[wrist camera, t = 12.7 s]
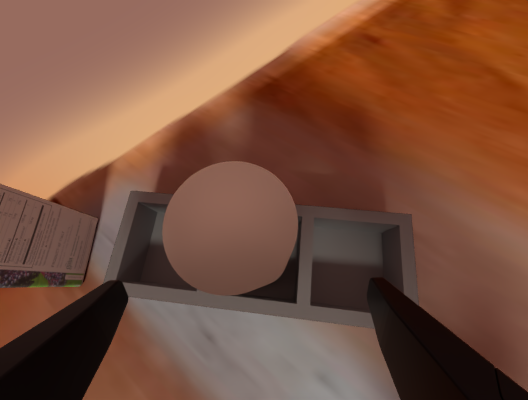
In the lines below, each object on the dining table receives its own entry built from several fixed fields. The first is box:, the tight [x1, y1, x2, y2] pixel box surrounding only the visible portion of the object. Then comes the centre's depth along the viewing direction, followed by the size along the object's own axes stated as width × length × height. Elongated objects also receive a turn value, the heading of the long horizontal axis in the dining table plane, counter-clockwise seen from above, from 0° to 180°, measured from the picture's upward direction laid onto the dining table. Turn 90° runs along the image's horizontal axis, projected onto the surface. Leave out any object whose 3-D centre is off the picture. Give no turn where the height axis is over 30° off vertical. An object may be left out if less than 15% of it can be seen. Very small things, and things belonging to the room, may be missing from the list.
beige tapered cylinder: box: [162, 161, 298, 296], centre depth 13 cm, size 4×4×12 cm
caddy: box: [103, 191, 419, 329], centre depth 17 cm, size 20×7×4 cm, turn 84°
